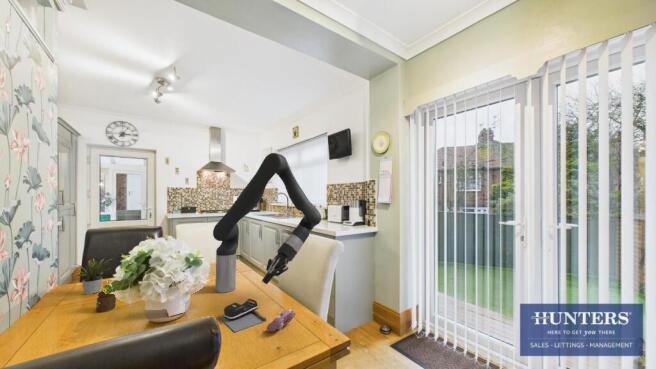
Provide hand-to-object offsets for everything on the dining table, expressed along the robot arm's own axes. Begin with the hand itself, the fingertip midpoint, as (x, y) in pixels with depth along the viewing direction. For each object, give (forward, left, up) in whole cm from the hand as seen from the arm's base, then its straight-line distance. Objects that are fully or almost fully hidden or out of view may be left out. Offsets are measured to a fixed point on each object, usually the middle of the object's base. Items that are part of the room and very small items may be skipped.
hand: (264, 282), depth 101 cm
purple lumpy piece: (+15, -1, -12) cm, 19 cm away
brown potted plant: (-45, -46, -12) cm, 65 cm away
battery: (-5, -2, -8) cm, 10 cm away
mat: (0, -9, -11) cm, 15 cm away
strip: (0, -3, -11) cm, 12 cm away
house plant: (-72, -49, -12) cm, 88 cm away
